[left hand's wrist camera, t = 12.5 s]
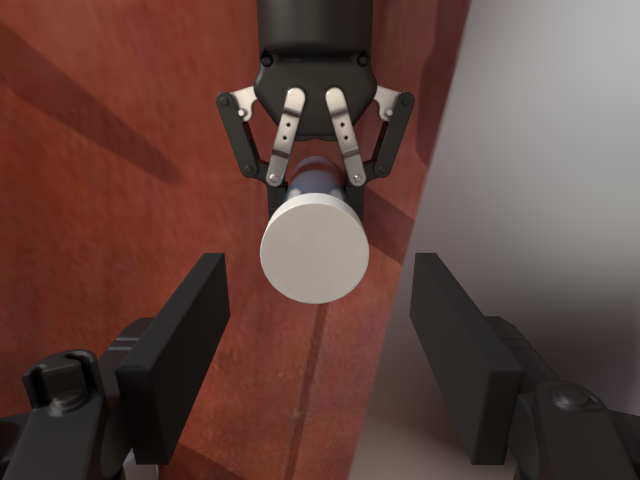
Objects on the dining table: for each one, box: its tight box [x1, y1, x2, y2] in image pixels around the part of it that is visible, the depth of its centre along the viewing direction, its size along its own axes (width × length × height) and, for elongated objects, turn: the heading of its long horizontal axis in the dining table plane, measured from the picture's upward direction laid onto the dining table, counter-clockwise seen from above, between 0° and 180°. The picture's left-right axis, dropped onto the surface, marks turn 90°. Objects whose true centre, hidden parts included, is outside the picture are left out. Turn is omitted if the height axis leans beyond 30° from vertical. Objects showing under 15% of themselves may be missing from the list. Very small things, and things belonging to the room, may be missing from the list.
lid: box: [260, 193, 369, 304], centre depth 19 cm, size 5×5×2 cm
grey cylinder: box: [283, 156, 349, 205], centre depth 27 cm, size 4×4×18 cm
